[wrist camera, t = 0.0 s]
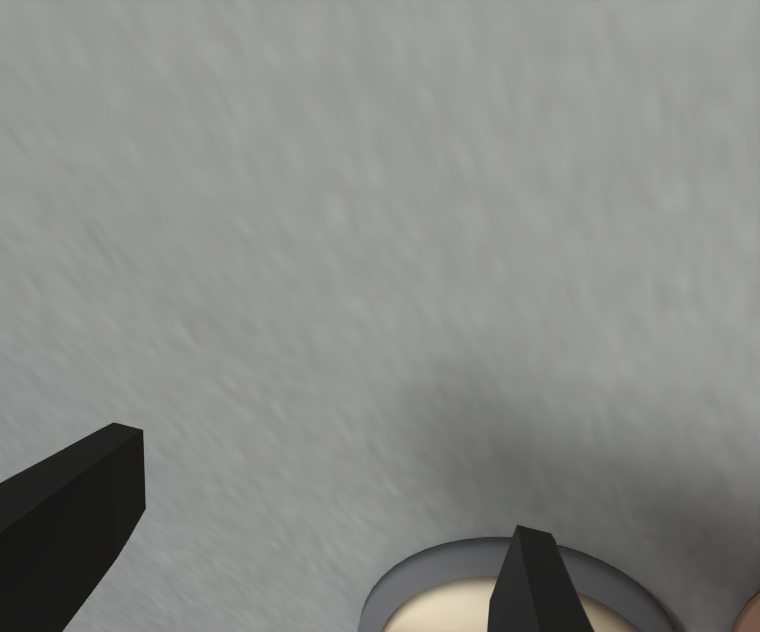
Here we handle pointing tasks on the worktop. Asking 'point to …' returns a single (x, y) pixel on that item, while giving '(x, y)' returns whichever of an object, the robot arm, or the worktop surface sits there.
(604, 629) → the lid
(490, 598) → the robot arm
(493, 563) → the mat
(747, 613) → the ring
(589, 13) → the worktop surface
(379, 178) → the worktop surface
